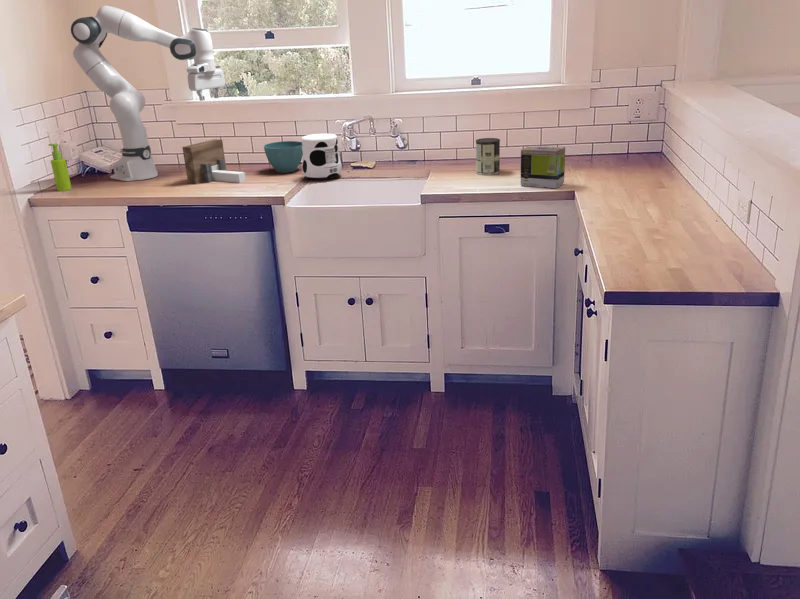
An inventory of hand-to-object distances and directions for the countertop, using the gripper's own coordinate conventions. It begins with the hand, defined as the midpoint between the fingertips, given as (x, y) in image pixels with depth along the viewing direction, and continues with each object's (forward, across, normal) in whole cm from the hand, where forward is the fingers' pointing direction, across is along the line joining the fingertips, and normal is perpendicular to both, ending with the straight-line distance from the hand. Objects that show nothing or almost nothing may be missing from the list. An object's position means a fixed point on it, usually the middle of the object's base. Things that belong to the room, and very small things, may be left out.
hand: (209, 99), depth 316 cm
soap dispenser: (+34, +50, -46) cm, 76 cm away
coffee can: (+32, -36, +121) cm, 130 cm away
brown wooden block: (+33, +12, +6) cm, 36 cm away
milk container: (+33, -6, +55) cm, 64 cm away
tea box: (+32, -22, +150) cm, 155 cm away
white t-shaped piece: (+34, +12, +17) cm, 39 cm away
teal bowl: (+33, -13, +30) cm, 46 cm away
